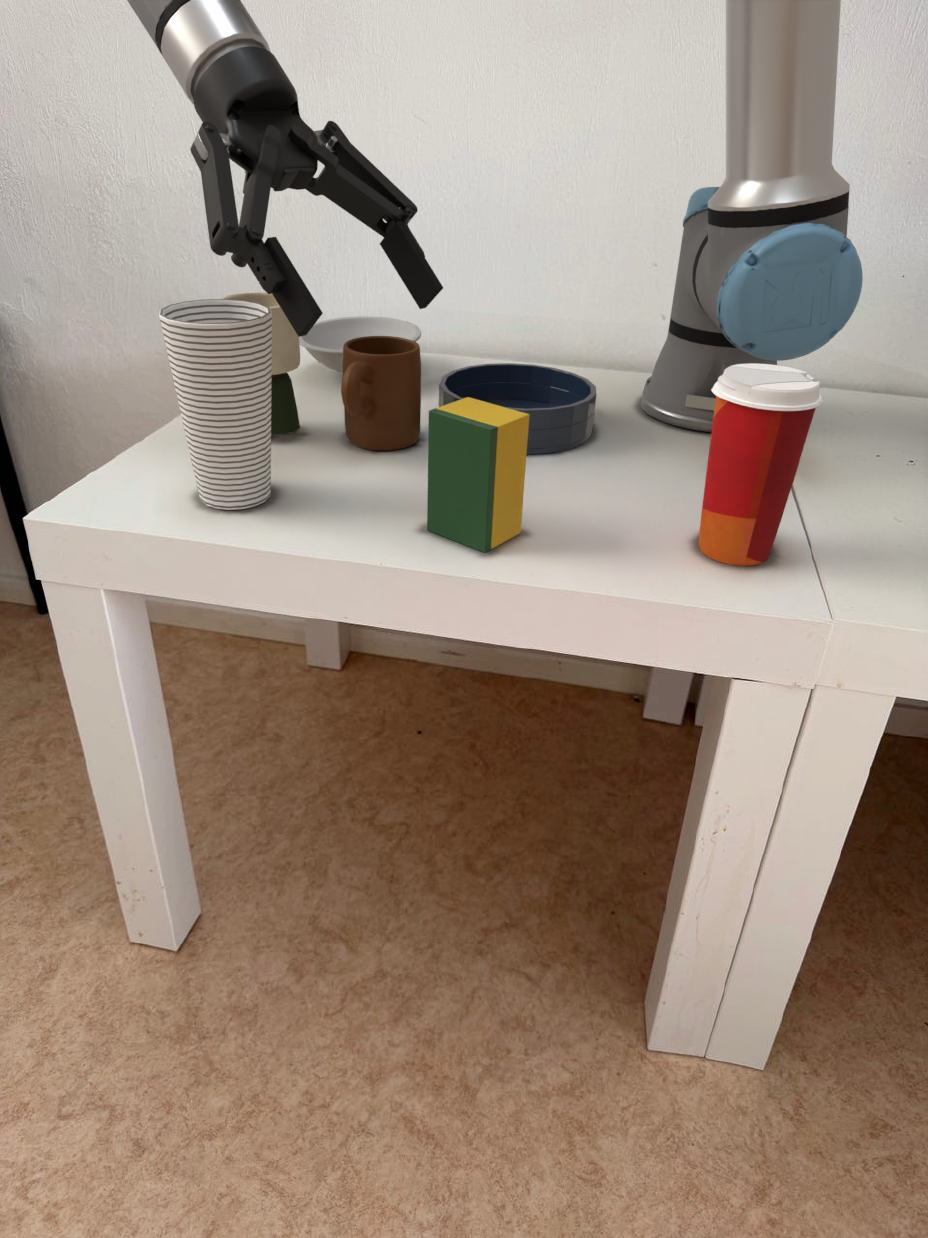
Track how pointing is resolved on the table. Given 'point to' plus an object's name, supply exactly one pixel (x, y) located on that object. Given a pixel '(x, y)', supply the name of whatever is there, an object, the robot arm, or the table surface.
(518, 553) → the table surface
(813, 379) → the paper cup
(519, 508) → the sponge
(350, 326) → the dish
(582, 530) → the table surface
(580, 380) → the bowl
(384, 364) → the mug
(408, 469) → the table surface
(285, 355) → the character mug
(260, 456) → the cup
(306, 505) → the table surface
